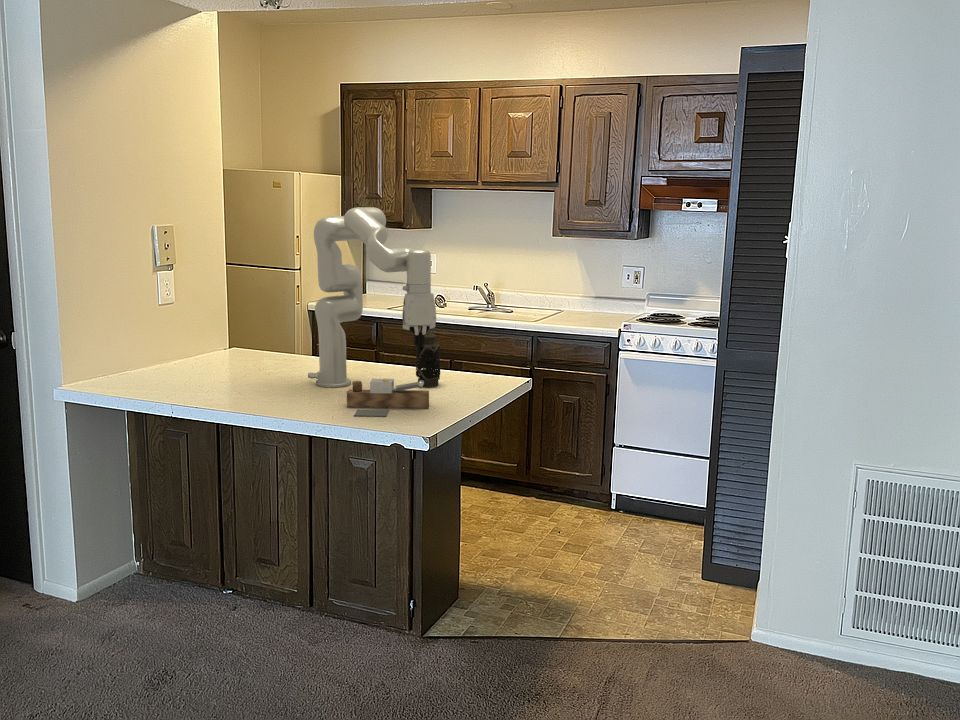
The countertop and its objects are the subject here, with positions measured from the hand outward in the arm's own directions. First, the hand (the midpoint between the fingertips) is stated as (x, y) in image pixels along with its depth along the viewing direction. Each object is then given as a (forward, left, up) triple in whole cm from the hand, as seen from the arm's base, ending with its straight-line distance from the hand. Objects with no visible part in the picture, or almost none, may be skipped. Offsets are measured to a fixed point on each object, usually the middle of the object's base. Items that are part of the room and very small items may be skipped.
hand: (419, 346), depth 271 cm
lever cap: (-12, 0, -15) cm, 19 cm away
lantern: (0, +32, -20) cm, 37 cm away
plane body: (-10, 0, -20) cm, 22 cm away
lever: (-8, 0, -14) cm, 16 cm away
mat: (-14, -9, -20) cm, 26 cm away
